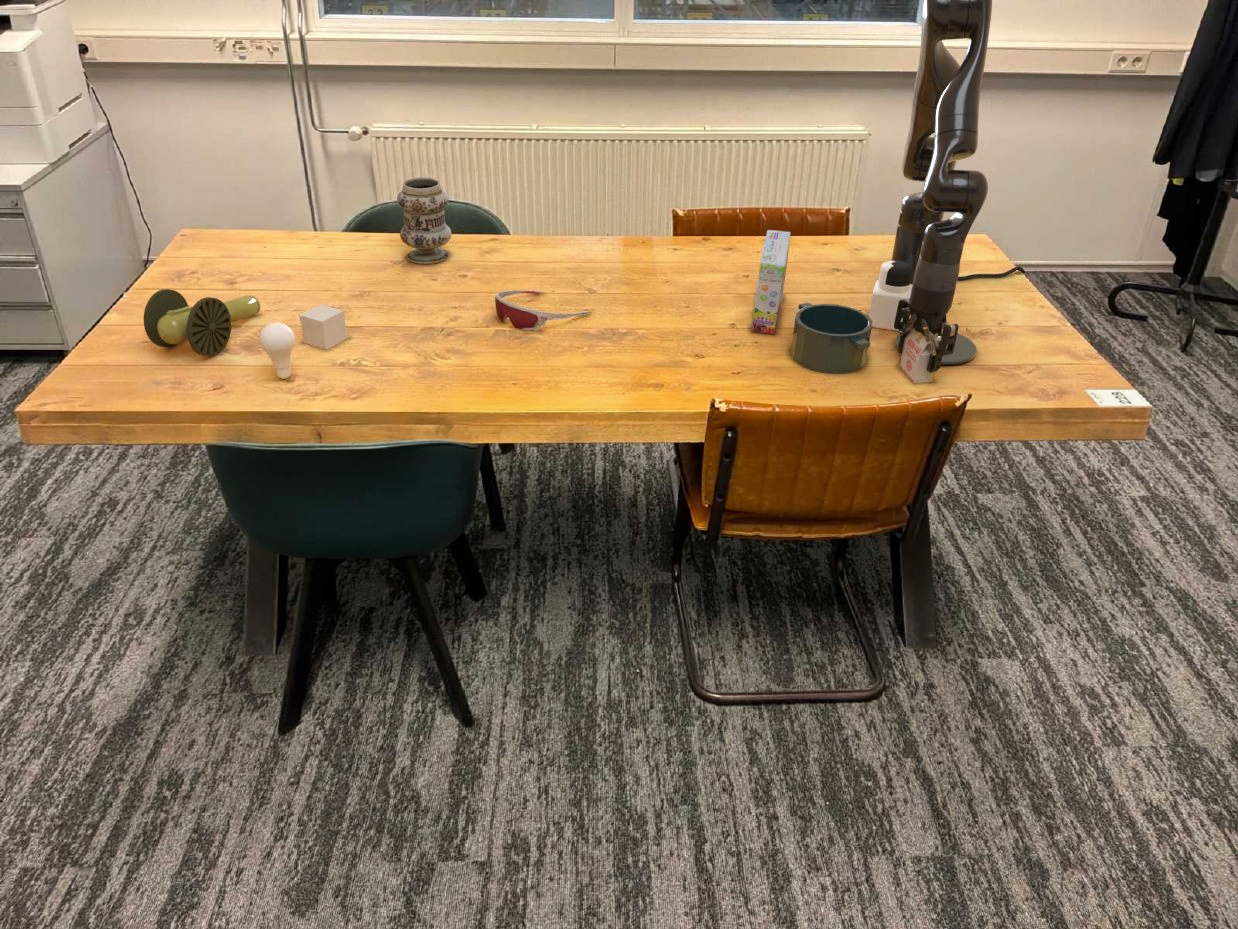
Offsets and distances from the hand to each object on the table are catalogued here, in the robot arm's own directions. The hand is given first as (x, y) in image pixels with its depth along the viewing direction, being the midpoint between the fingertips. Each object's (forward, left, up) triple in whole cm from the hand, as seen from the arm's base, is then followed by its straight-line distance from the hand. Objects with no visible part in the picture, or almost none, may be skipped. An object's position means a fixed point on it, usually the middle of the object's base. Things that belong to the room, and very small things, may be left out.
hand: (917, 362), depth 180 cm
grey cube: (+100, -59, -3) cm, 116 cm away
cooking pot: (+11, -13, -3) cm, 17 cm away
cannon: (+120, -69, -3) cm, 138 cm away
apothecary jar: (+69, -95, -3) cm, 117 cm away
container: (-10, -21, -3) cm, 23 cm away
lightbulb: (+110, -46, -3) cm, 119 cm away
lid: (-11, -7, -2) cm, 13 cm away
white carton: (0, 0, -3) cm, 3 cm away
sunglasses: (+57, -54, -3) cm, 79 cm away
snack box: (+11, -35, -3) cm, 37 cm away
